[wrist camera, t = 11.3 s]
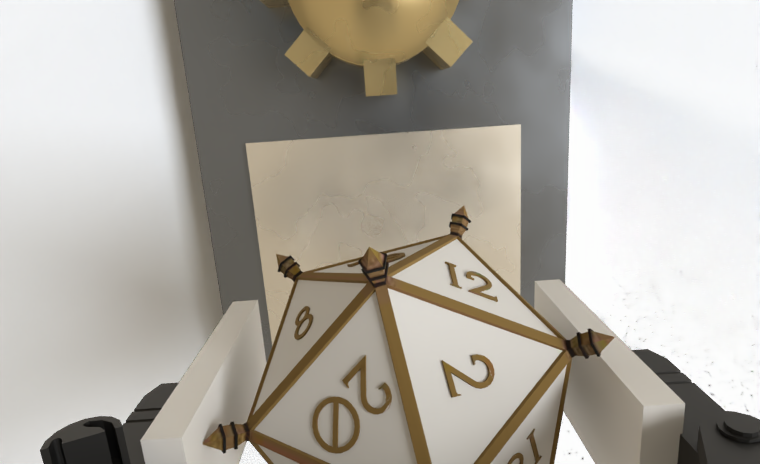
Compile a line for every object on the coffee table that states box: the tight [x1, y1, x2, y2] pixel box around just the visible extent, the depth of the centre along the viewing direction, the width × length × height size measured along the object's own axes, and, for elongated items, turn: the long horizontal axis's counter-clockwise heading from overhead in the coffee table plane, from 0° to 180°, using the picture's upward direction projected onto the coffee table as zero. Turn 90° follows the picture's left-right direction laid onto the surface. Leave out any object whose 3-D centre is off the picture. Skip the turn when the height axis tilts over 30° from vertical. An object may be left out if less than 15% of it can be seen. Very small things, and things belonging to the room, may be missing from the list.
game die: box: [203, 205, 615, 464], centre depth 13 cm, size 9×8×10 cm
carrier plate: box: [174, 0, 573, 363], centre depth 20 cm, size 22×15×5 cm
